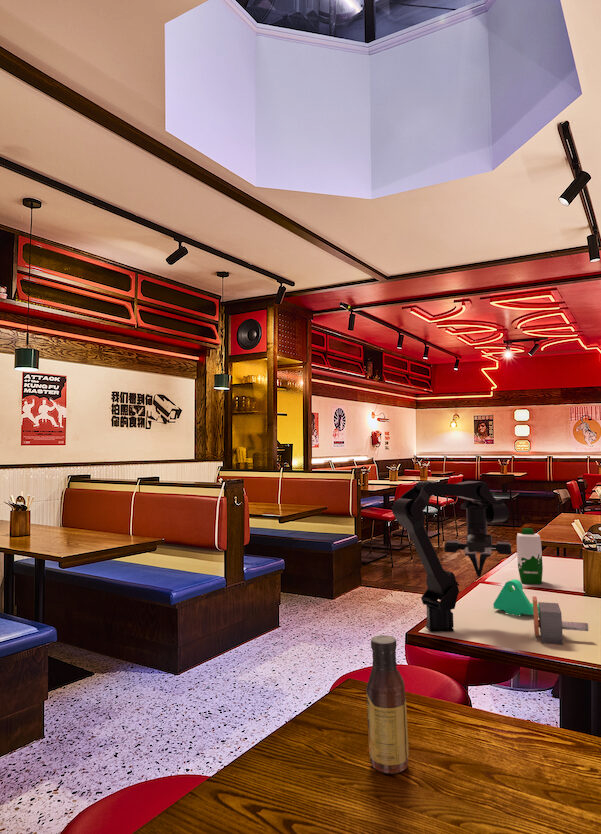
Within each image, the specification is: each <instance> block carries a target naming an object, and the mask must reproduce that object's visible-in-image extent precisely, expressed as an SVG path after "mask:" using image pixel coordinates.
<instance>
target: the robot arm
mask: <svg viewBox="0 0 601 834" xmlns="http://www.w3.org/2000/svg"><path fill="white" fill-rule="evenodd" d="M432 496H442V497H443V496H444V497H445V496H448V497H458V498H460V499H464V502H463V503H462V504H461V505H460V506H459V508H460V509H465V510H466V540H465V541H466V543H462V542H461V541H460V540H452V539H451V540H448V539H447V541H445V543H444V552H445V553H456V552H457V551H458V550H462V551H464V552H465V553H464V556H468V558H469V559H470V561H471V563H472V565H473V569H474V572H475V575H476V576H477V578H481V576H482V572H483V569H484V565H485V562H486V560H487V558H488V557H492V551H493V552H494V551H495V552H498V554H500V555H512V544H511V542H509V541H497V542H496V544H493V538H492V534H488V523H497V522H506V521H507V520H508V518H509V516H510V510H509V509H508V506H507V505H506V504H505V502H504V499H503V498H495V496H494V494H492V492H491V490H490V488H489V486H488V485H487V482H485V481H483V480H482V481H476V480H466V481H465V480H464V481H460V482H458V483H446V482H445V483H443V482H431V481H423V480H422V481H418V482H416V483H415V485H414V486H413V487H412V488H410V489H409V490H408V491H406V492H404V493H403V494H402V495H401V496H400V497H399V498H398V499H396V500H394V502H393V504H392V507H391V512H392V515H393V516H394V518H395V519H396V521H397V522H398V524H399V525H401V527H403V528H404V529H405V530H406V532H407V534H408V535H409V538H410V541H411V543H412V545H413V546H414V549H415V550H416V552H417V555H418V557H419V559H420V562H421V564H422V566H423V568H424V570H425V573H426V581H425V582H426V587H427V588H426V590H425V592H424V593H423V594H422V596H421V597H420V599H421V602H422V605H424V606H426V623H425V627H426V628H427V629H428V631H430V632H431V633H447V632H448V633H449V632H451V633H452V632H455V629H454V613H453V612H452V610H455V609H456V605H457V602H458V601H457V600H458V596H459V594H460V588H459V585H460V584H459V583H458V580H456V576H455V574H454V572H453V571H448V570H445V569H444V568H443V565H442V563H441V561H440V559H439V557H438V554H437V552H436V550H435V547H434V546H433V543H432V541H431V539H430V536H429V535H428V532H427V530H426V528H425V525H424V524H425V523H424V522H425V514H424V513H425V512H424V510H425V509H426V508H427V506H428V504H429V502H430V500H431V497H432ZM460 542H461V543H460ZM477 552H478V553H480V554H479V561H478V556H477Z"/></svg>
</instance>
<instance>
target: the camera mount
mask: <svg viewBox="0 0 601 834" xmlns="http://www.w3.org/2000/svg"><path fill="white" fill-rule="evenodd" d="M513 587H514V588H513ZM523 589H524V588H523V584H522V582H521V580H518V579H515V578H514V579H511V580H509V581H506V582H505V583H504V585H503V587H502V588H501V590H500V592H499V594H498V596H497V597H496V598H495V600H494V602H493V610H499V611H504V613H508V614H507V615H511V614H514V615H513V616H516V615H520V616H519V617H521V615H522V616H524V615H528V616H533V602H532V603H531V602H530V600H529V598H528V597H527V595H526V593H525V591H524V590H523ZM538 613H539V606H538ZM523 614H524V615H523Z"/></svg>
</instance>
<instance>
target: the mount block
mask: <svg viewBox="0 0 601 834" xmlns="http://www.w3.org/2000/svg"><path fill="white" fill-rule="evenodd" d="M537 604H538V606H539V612H538V620H540V625H541V628H539V636H540V639H541V640H540V641H541V643H542V644H549V645H551V644H552V645H564V638H563V629H562V621H563V620H562V617H563V616H562V610H561V607H560V604H559V603H557V602H545V601H544V602H543V601H537Z"/></svg>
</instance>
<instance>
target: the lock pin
mask: <svg viewBox="0 0 601 834" xmlns="http://www.w3.org/2000/svg"><path fill="white" fill-rule="evenodd" d="M537 597H538V596H532V603H533V615H532V616H533V633H534V636H535V637H536V636H538V637H539V636H540V628H541V625H540V620H539V612H538V598H537ZM562 630H565V631H567V630H568V631H578V632H579V631H580V632H582V631H583V632H589V624H588V622H577V621H564V620H562Z"/></svg>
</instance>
